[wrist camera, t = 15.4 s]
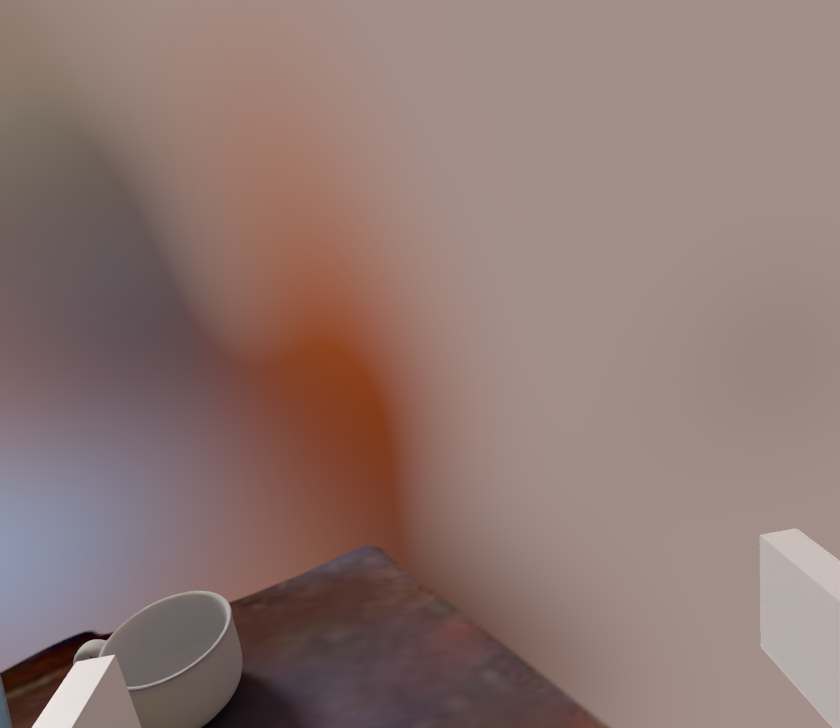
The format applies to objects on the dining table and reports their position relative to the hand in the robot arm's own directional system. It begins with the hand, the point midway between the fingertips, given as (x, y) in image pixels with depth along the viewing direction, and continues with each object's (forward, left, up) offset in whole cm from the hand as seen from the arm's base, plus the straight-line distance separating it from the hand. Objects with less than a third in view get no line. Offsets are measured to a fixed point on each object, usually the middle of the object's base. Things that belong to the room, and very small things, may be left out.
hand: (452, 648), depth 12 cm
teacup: (+2, +42, -29) cm, 51 cm away
